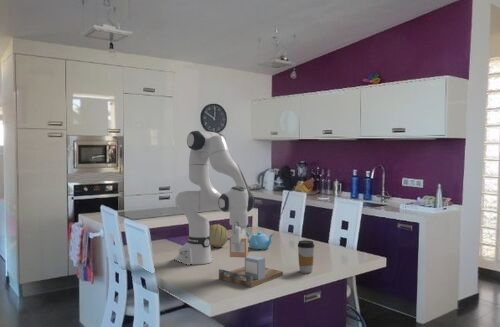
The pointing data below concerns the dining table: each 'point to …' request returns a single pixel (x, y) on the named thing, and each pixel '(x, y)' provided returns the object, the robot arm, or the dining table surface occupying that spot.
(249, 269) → the slate-blue carton
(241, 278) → the shelf plank
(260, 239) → the teapot
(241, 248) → the terracotta carton
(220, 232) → the cantaloupe
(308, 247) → the coffee cup
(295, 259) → the dining table surface
